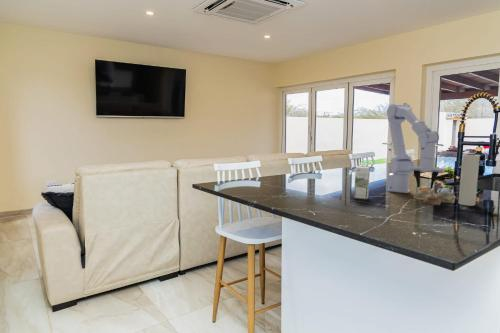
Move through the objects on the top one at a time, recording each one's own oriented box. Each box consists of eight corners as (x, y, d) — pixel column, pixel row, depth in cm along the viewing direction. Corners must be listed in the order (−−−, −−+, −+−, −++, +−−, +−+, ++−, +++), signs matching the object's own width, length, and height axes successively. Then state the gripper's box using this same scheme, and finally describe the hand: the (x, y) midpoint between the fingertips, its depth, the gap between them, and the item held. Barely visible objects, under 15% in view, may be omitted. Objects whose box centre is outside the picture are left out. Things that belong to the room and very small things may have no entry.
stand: (422, 203, 147) (423, 198, 147) (424, 200, 153) (425, 195, 152) (439, 205, 144) (440, 200, 144) (441, 202, 149) (441, 197, 149)
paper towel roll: (469, 206, 141) (474, 155, 139) (455, 203, 147) (459, 153, 144) (479, 205, 145) (484, 154, 142) (465, 202, 150) (469, 153, 147)
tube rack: (413, 198, 156) (413, 190, 155) (417, 194, 167) (417, 186, 166) (454, 203, 147) (454, 194, 147) (455, 198, 158) (456, 189, 158)
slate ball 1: (420, 194, 161) (420, 186, 160) (421, 193, 164) (422, 184, 164) (429, 195, 159) (430, 187, 158) (430, 194, 162) (431, 185, 162)
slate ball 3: (439, 196, 157) (440, 187, 156) (440, 195, 160) (441, 186, 159) (449, 197, 154) (450, 188, 154) (450, 196, 158) (451, 187, 157)
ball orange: (419, 195, 157) (419, 186, 156) (420, 194, 160) (420, 185, 160) (428, 196, 154) (429, 187, 154) (429, 195, 158) (430, 186, 157)
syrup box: (368, 197, 158) (370, 166, 156) (367, 199, 153) (368, 167, 151) (355, 196, 160) (357, 165, 159) (353, 198, 155) (355, 166, 153)
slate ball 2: (438, 198, 152) (439, 189, 152) (439, 196, 156) (440, 188, 155) (449, 199, 150) (449, 190, 150) (449, 198, 154) (450, 189, 153)
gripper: (408, 157, 156) (406, 187, 157) (444, 159, 148) (442, 190, 150) (410, 156, 162) (408, 185, 163) (445, 158, 154) (443, 188, 155)
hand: (424, 187), depth 157 cm, fingers open, 5 cm apart
